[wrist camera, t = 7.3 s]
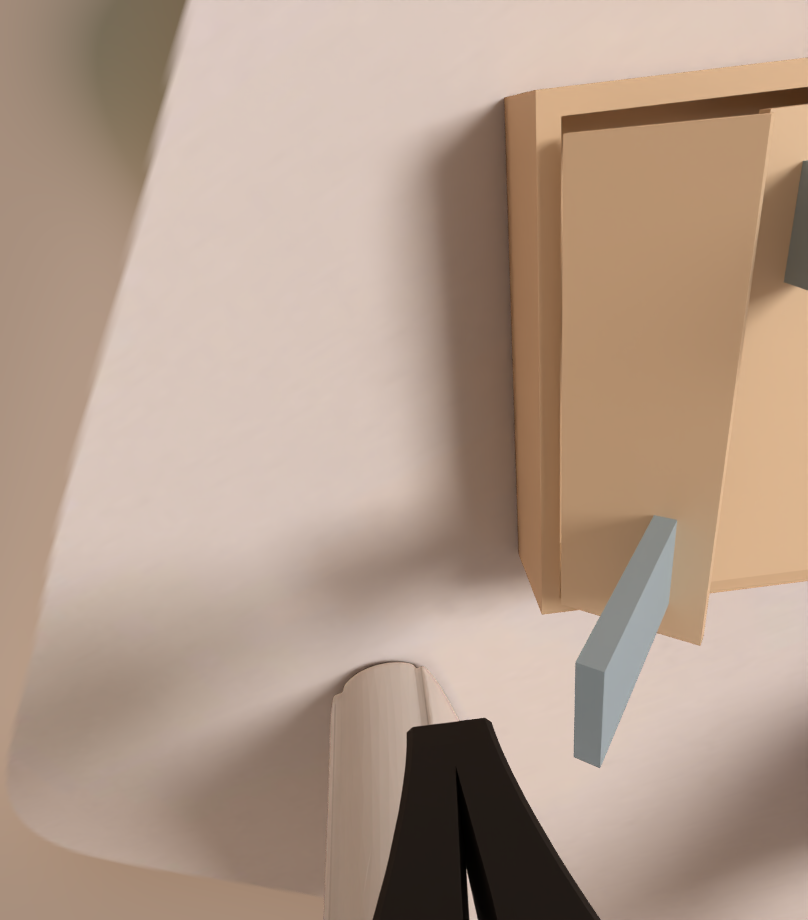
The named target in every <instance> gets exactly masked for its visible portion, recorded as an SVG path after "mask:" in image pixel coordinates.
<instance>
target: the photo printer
mask: <svg viewBox="0 0 808 920" xmlns="http://www.w3.org/2000/svg"><path fill="white" fill-rule="evenodd" d="M456 721H459V719H458V717H457V716H456V714H455V712H454V710H453V708H452V706H451V704H450V703H449V701H448V699H447V697H446V695H445V694H444V692H443V690H442V688H441V687H440V685H439V684H438V682H437V681H436V679H435V678H434V677H433V675H432V674H431V673H430V672H429V671H428V670H427V669H426V667H424V666H421V667H419V668H416V667H415V666H414V665H412V664H410V663H405V662H391V663H384V664H379V665H375V666H372V667H369V668H367V669H365V670H363V671H361V672H359V673H357V674H356V675H355V676H353V677H352V678H351V679H350V680H349V681H348V682H347V683H346V684H345V686H344V689H343V691H342V693H339V694H336V695H335V696H334V698H333V702H332V708H331V723H330V752H329V783H328V813H327V837H326V864H325V895H324V917H323V920H373V916H374V912H375V909H376V905H377V901H378V898H379V894H380V890H381V886H382V883H383V879H384V875H385V871H386V867H387V863H388V859H389V855H390V850H391V845H392V840H393V836H394V831H395V826H396V821H397V816H398V812H399V806H400V800H401V793H402V787H403V780H404V772H405V762H406V748H407V732H408V731H409V730H410V729H411V728H412V727H416V726H424V725H432V724H440V723H448V722H456ZM466 872H467V869H466ZM467 888H468V904H469V920H478V919H477V914H476V910H475V905H474V901H473V896H472V892H471V887H470V883H469V878H468V874H467Z"/></svg>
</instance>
